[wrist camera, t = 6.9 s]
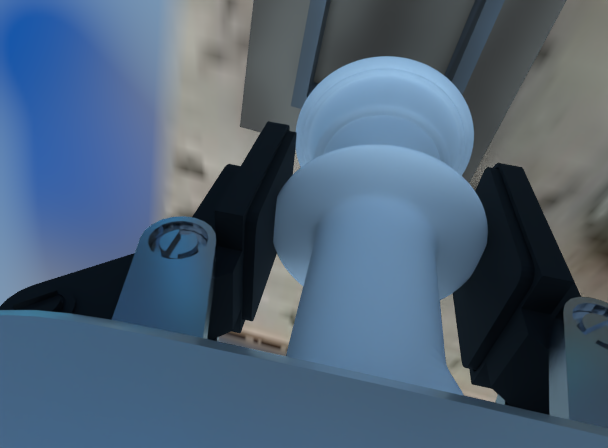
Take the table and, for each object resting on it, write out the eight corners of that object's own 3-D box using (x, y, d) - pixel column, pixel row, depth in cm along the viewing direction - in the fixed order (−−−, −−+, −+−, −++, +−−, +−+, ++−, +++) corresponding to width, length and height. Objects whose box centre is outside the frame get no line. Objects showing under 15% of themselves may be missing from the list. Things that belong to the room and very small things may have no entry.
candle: (428, 14, 11) (610, 785, 1) (498, 176, 13) (745, 877, 4) (263, 111, 13) (-73, 635, 4) (348, 234, 15) (268, 747, 6)
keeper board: (613, -106, 20) (648, -106, 17) (465, 179, 30) (471, 208, 27) (279, -190, 20) (260, -204, 17) (244, 120, 30) (228, 142, 27)
